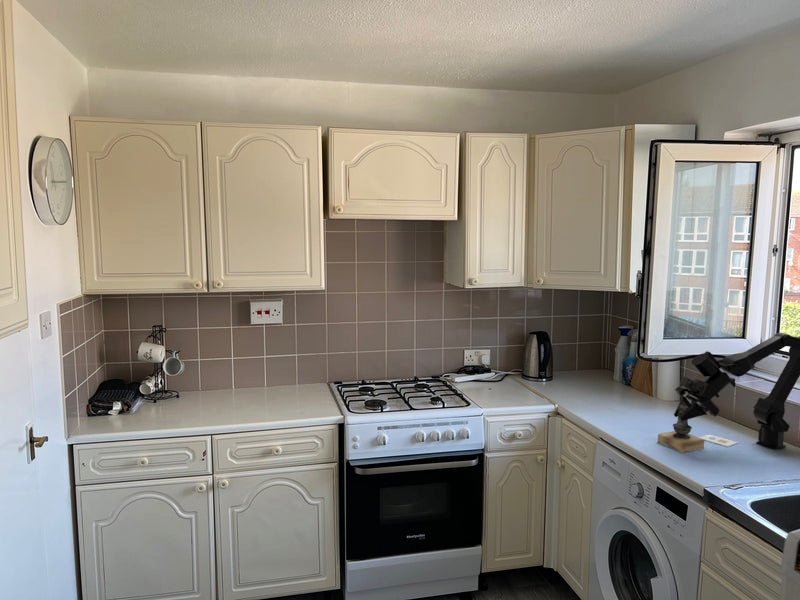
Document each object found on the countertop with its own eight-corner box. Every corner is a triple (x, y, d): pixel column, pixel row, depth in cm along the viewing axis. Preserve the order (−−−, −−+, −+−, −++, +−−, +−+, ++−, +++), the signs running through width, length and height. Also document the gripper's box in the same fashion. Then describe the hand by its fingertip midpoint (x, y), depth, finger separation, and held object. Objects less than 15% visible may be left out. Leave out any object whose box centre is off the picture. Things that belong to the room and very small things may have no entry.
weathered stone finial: (670, 432, 199) (673, 398, 198) (689, 434, 197) (692, 400, 196) (673, 438, 193) (675, 403, 192) (692, 440, 192) (695, 405, 190)
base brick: (703, 448, 193) (704, 439, 193) (682, 452, 189) (683, 443, 189) (678, 438, 202) (678, 430, 202) (657, 442, 198) (658, 433, 198)
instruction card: (738, 443, 198) (738, 442, 198) (727, 447, 194) (727, 446, 194) (708, 434, 206) (708, 433, 206) (698, 438, 202) (698, 437, 202)
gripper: (682, 363, 202) (649, 393, 203) (713, 375, 184) (676, 409, 184) (702, 385, 203) (669, 415, 204) (735, 400, 185) (699, 433, 186)
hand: (677, 417), depth 194 cm, fingers open, 4 cm apart
